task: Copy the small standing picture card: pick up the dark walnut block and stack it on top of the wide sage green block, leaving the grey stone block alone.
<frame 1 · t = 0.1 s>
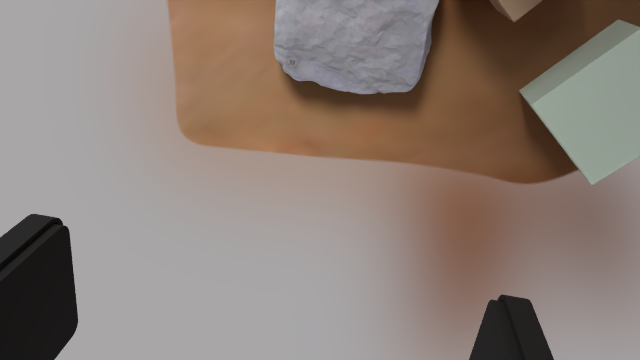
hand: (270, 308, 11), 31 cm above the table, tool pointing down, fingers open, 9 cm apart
stone block: (354, 21, 39), on the table
sage block: (594, 95, 39), on the table
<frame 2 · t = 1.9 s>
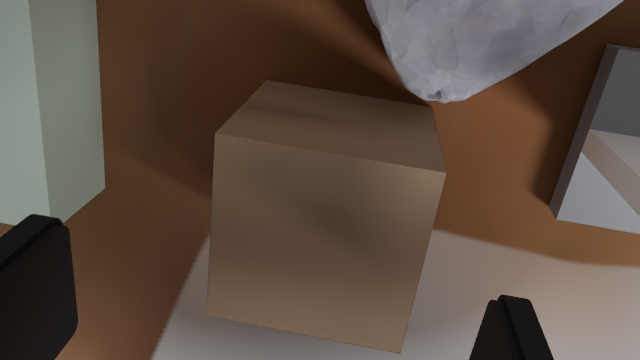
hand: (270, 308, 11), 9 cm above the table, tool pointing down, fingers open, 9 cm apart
sage block: (7, 76, 20), on the table
walnut block: (336, 168, 20), on the table
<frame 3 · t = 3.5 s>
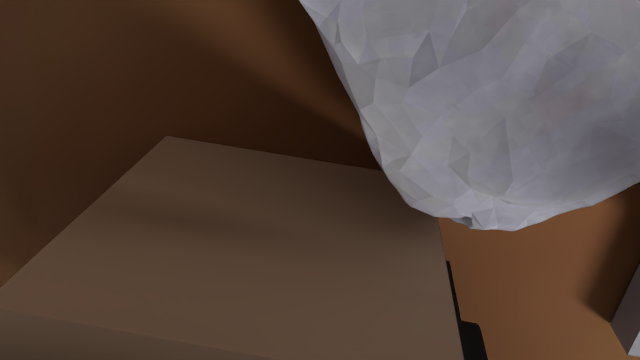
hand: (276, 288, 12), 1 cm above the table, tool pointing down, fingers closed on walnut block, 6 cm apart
walnut block: (283, 266, 13), on the table, touching gripper
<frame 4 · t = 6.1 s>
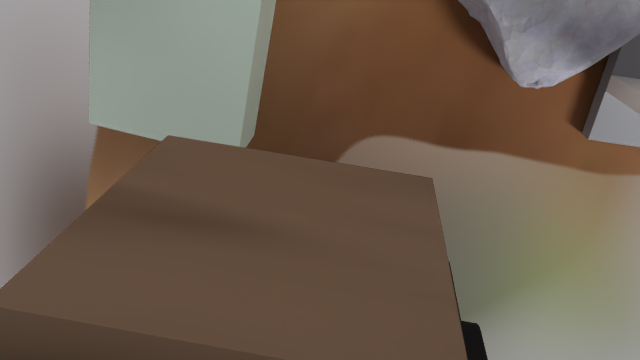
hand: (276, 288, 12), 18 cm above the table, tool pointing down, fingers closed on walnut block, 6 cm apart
sage block: (196, 50, 29), on the table
walnut block: (285, 266, 13), point 17 cm above the table, touching gripper
when the fingers open (6 cm above the table, at t = 9.0 s): walnut block drops 1 cm, point 4 cm above the table.
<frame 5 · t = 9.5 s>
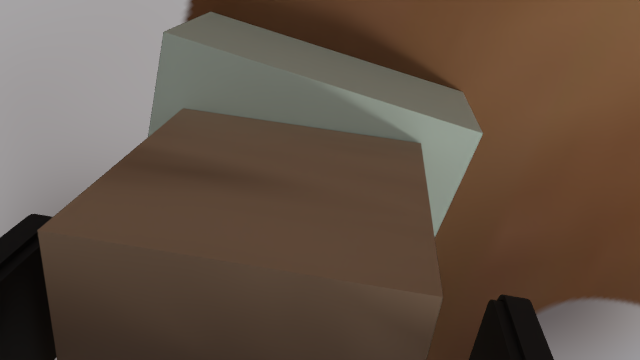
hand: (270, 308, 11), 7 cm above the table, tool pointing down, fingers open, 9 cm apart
sage block: (303, 162, 18), on the table
walnut block: (290, 228, 14), point 4 cm above the table
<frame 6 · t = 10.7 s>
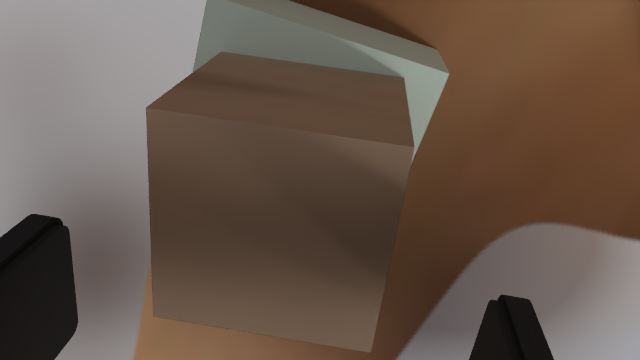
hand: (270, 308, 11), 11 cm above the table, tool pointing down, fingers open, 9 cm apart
sage block: (309, 110, 22), on the table
walnut block: (302, 149, 18), point 4 cm above the table
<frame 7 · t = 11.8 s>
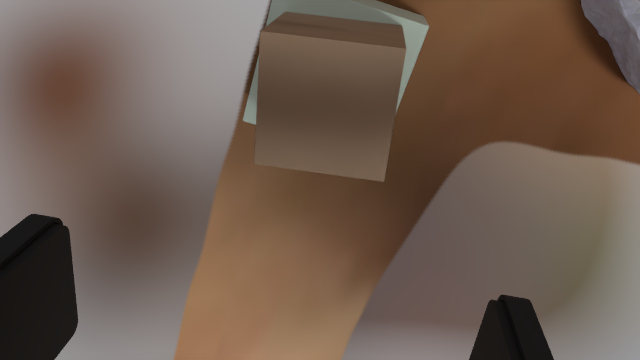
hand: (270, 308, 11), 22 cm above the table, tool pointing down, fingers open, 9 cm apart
sage block: (336, 60, 31), on the table, touching walnut block
walnut block: (336, 76, 28), point 4 cm above the table, touching sage block
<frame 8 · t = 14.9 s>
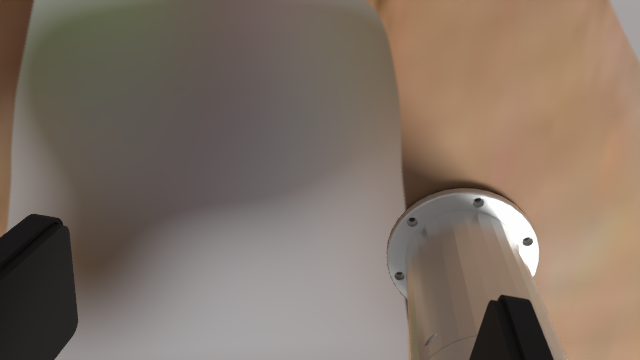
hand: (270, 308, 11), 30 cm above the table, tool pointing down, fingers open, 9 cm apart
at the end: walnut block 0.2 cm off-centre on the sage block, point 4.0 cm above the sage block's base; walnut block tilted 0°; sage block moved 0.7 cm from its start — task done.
